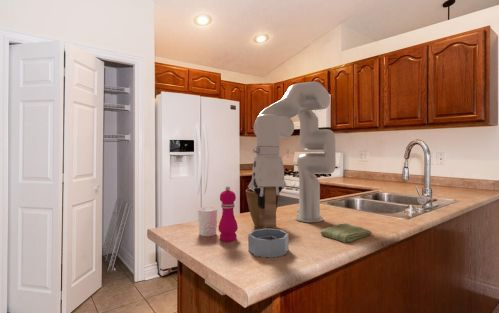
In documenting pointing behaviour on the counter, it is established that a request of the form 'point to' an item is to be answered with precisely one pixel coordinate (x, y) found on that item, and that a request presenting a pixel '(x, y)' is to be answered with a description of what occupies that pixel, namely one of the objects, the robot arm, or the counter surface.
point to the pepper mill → (227, 216)
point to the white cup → (207, 221)
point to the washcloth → (345, 232)
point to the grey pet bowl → (268, 242)
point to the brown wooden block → (268, 208)
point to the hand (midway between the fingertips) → (267, 206)
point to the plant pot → (254, 207)
